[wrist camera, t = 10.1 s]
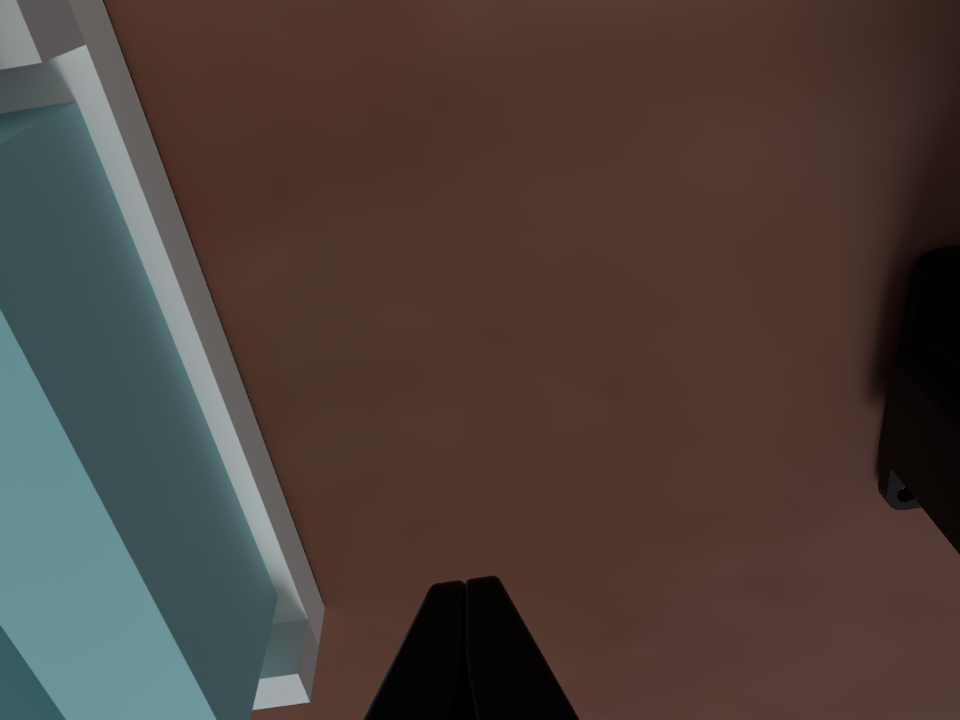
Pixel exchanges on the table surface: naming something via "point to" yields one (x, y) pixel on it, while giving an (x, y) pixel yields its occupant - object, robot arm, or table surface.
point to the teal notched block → (107, 467)
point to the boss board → (170, 294)
